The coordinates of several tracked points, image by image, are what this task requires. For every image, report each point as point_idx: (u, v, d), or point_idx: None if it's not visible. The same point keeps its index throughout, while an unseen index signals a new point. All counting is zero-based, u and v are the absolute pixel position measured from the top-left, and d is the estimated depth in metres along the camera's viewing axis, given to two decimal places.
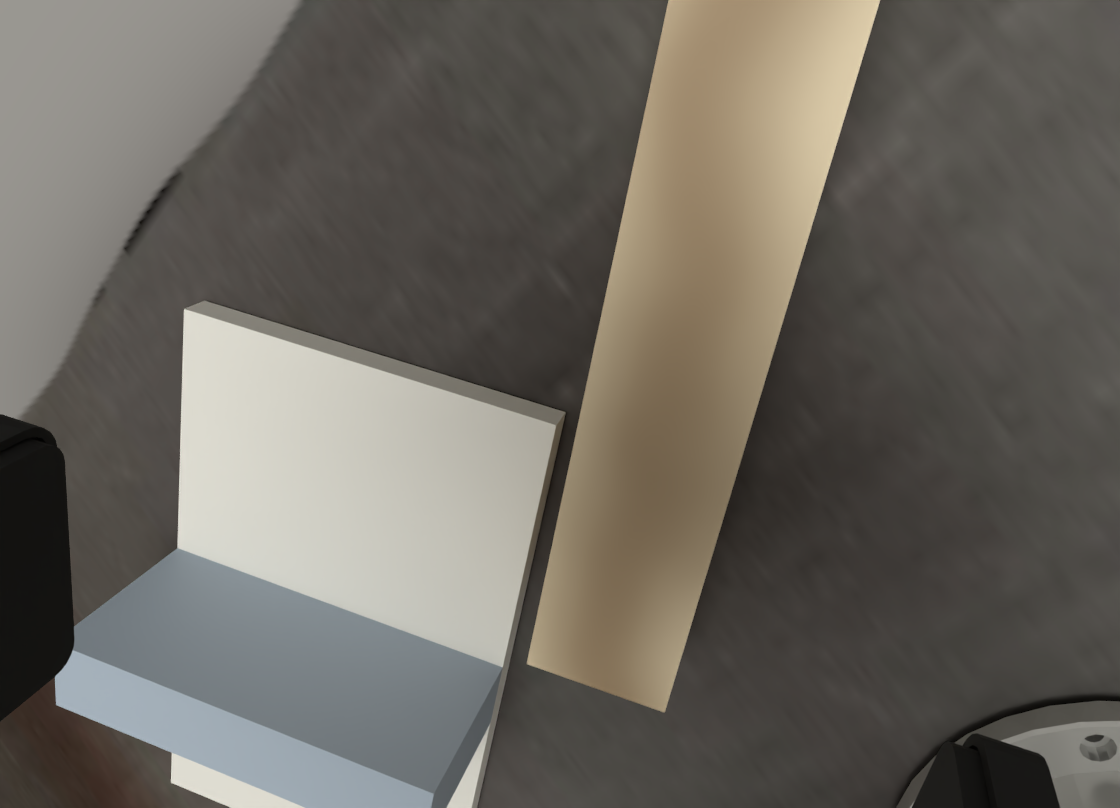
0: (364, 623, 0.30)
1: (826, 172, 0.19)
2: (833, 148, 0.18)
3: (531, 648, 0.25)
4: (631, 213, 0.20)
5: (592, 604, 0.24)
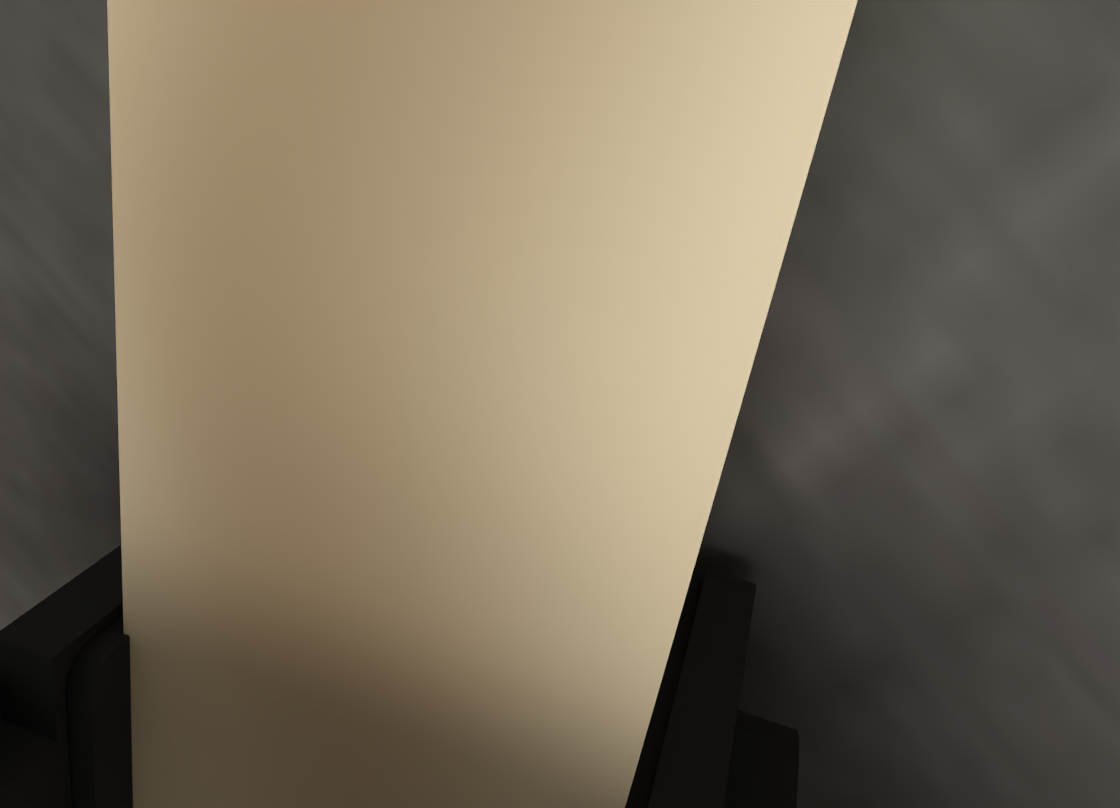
0: None
1: (690, 559, 0.05)
2: (710, 489, 0.05)
3: None
4: (141, 605, 0.07)
5: None
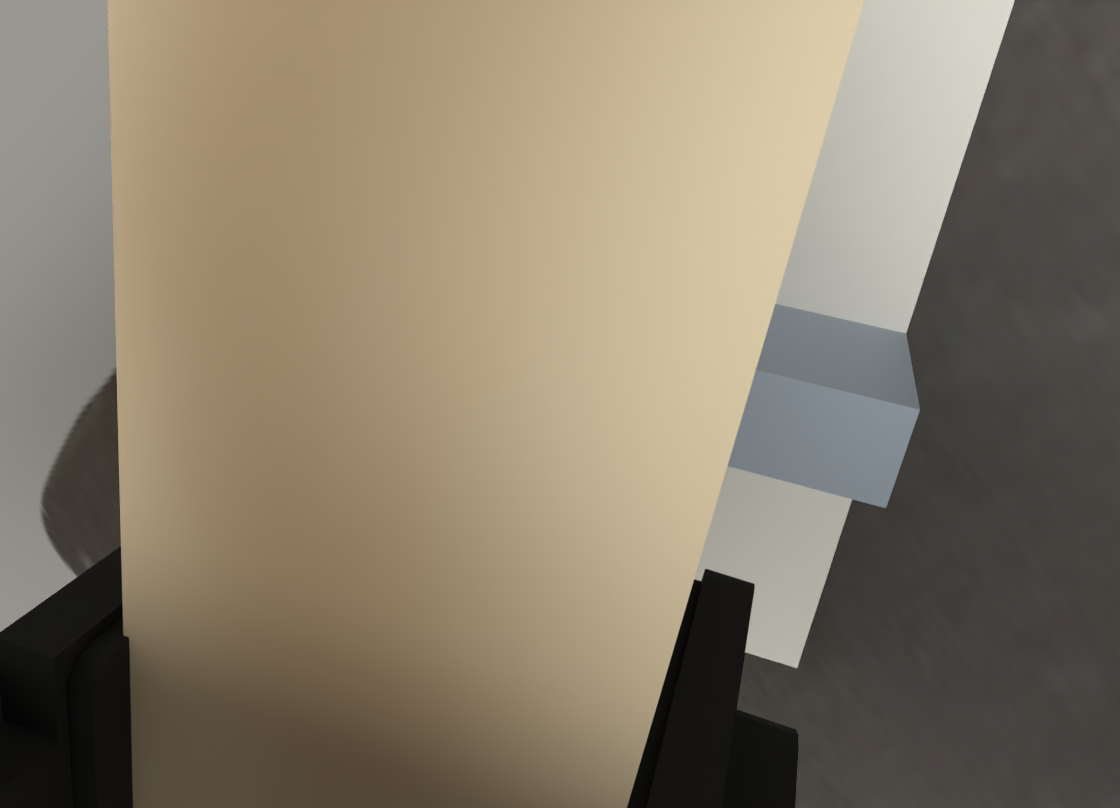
0: None
1: (698, 547, 0.05)
2: (718, 475, 0.05)
3: None
4: (141, 594, 0.07)
5: None
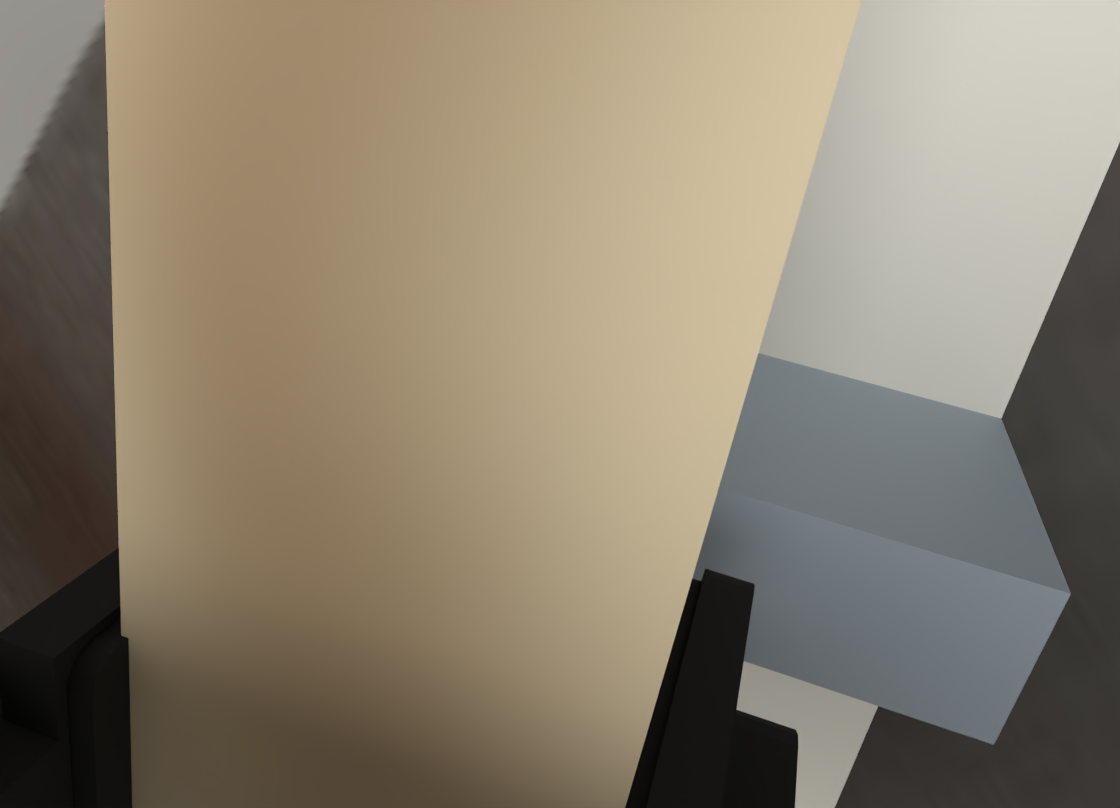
0: None
1: (695, 550, 0.05)
2: (715, 479, 0.05)
3: None
4: (139, 597, 0.07)
5: None
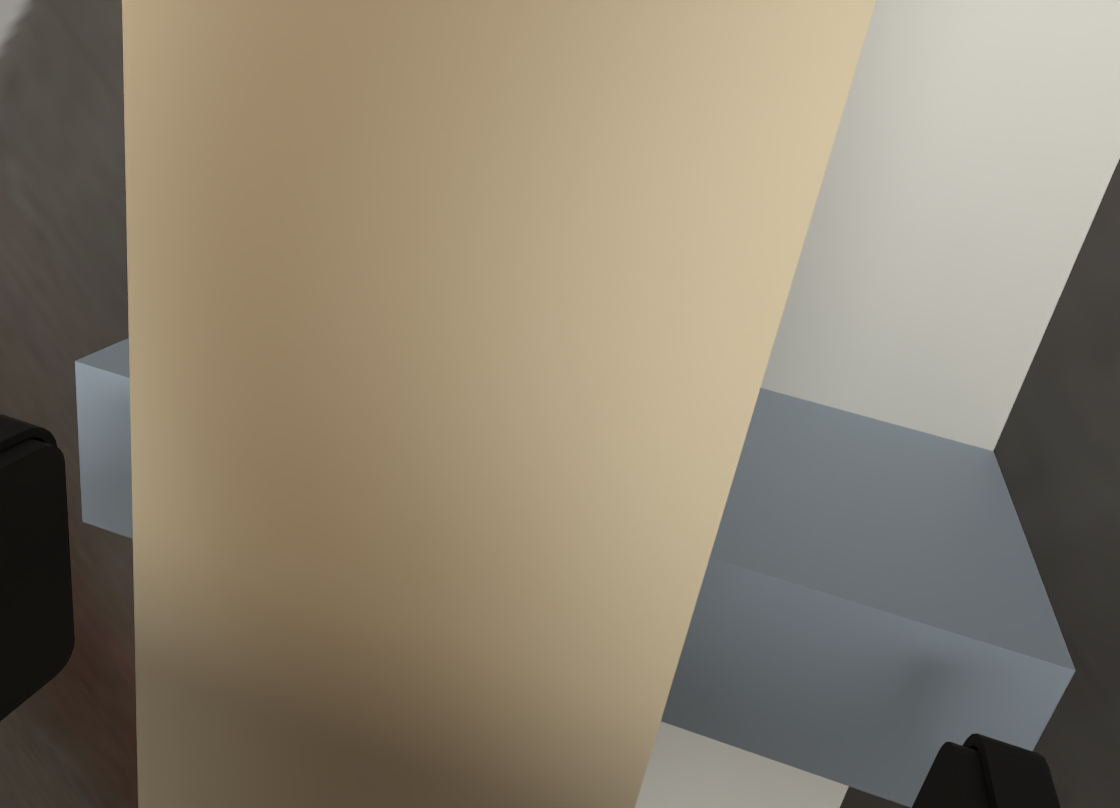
0: None
1: (706, 550, 0.05)
2: (726, 479, 0.05)
3: None
4: (152, 596, 0.07)
5: None
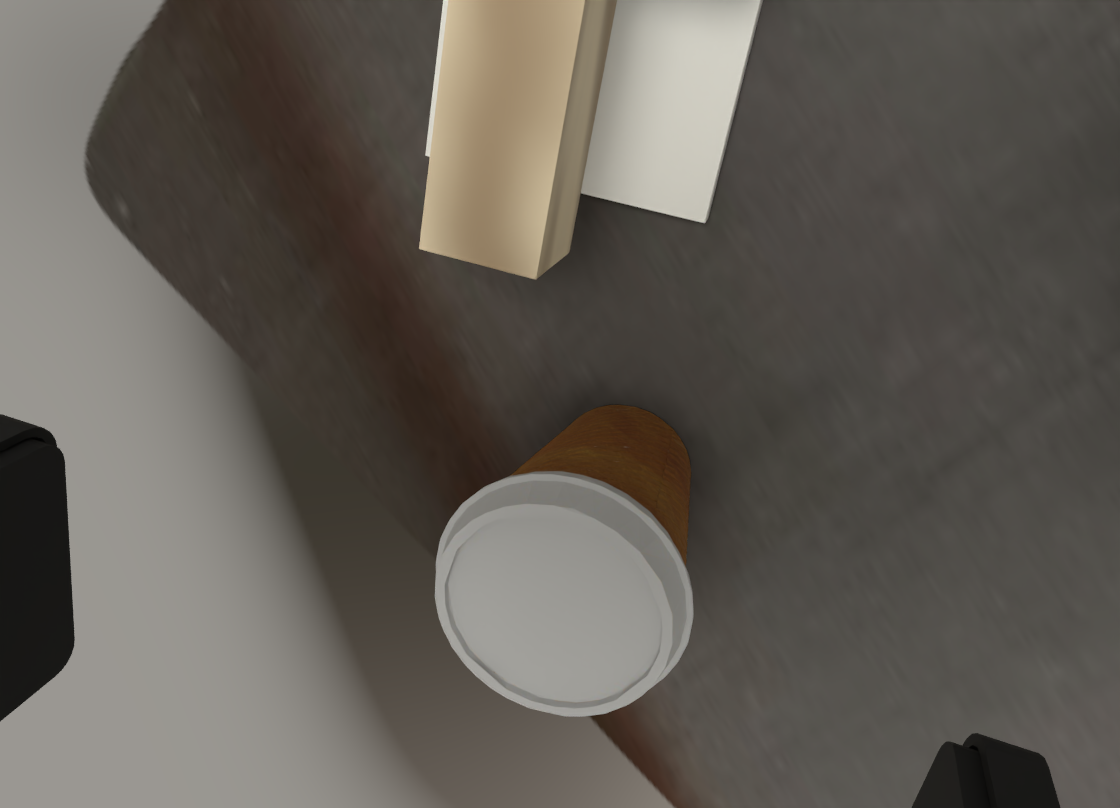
0: None
1: None
2: None
3: (422, 231, 0.29)
4: None
5: (470, 177, 0.28)
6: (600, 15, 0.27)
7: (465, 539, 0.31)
